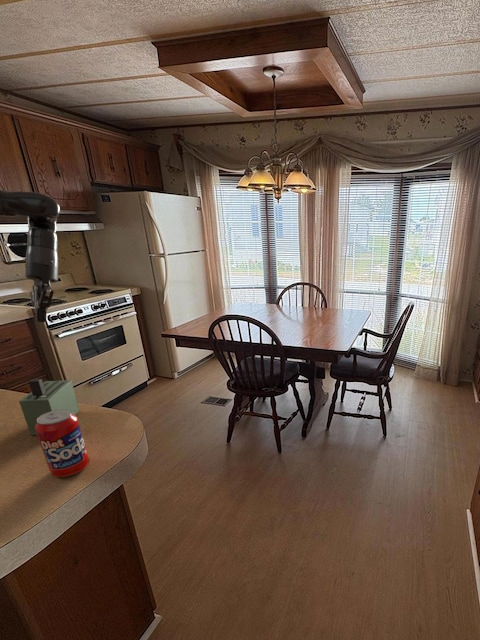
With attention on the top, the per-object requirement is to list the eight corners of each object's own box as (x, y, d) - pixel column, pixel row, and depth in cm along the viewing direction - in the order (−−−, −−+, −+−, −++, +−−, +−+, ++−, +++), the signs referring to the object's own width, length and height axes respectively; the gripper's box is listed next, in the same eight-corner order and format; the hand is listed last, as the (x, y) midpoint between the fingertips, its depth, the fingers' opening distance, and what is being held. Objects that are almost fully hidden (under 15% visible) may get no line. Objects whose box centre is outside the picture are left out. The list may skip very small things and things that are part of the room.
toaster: (55, 412, 107) (45, 380, 103) (79, 411, 109) (71, 379, 104) (30, 435, 96) (18, 400, 91) (59, 434, 97) (48, 399, 93)
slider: (36, 393, 95) (31, 379, 94) (46, 393, 96) (41, 378, 94) (33, 396, 94) (28, 381, 92) (43, 395, 94) (38, 381, 93)
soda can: (76, 455, 88) (61, 404, 83) (97, 464, 86) (83, 412, 80) (43, 474, 82) (24, 420, 76) (65, 483, 79) (46, 428, 73)
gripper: (19, 264, 103) (18, 321, 104) (33, 258, 96) (31, 319, 96) (50, 270, 110) (48, 324, 110) (65, 264, 102) (63, 322, 102)
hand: (40, 321), depth 103 cm, fingers closed
